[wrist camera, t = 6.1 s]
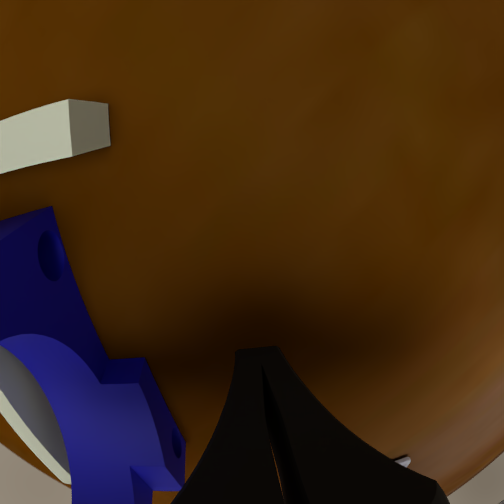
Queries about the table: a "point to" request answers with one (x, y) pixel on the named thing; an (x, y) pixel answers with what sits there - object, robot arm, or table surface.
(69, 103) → the notched fence
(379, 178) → the table surface
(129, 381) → the blue curved block
